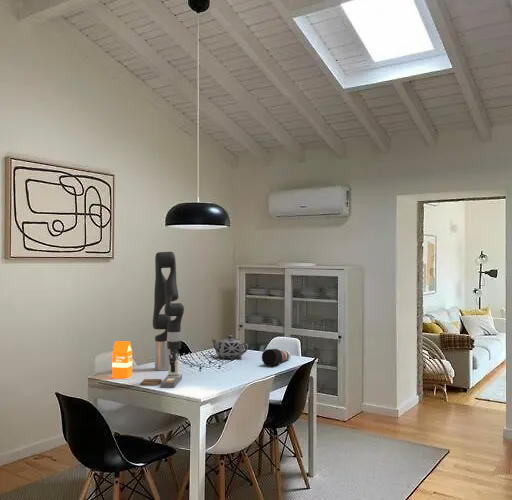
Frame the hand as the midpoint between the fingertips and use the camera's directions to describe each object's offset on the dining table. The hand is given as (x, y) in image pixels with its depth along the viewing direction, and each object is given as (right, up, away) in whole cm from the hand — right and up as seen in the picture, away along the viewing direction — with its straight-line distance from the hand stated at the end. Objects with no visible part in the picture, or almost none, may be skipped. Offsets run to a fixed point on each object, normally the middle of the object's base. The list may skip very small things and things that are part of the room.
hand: (173, 371), depth 301 cm
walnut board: (-11, -5, -6) cm, 14 cm away
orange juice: (-31, -6, +10) cm, 33 cm away
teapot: (+26, -7, +75) cm, 79 cm away
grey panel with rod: (0, -5, -1) cm, 5 cm away
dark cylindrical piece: (+60, -7, +57) cm, 83 cm away
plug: (0, -1, 0) cm, 1 cm away
